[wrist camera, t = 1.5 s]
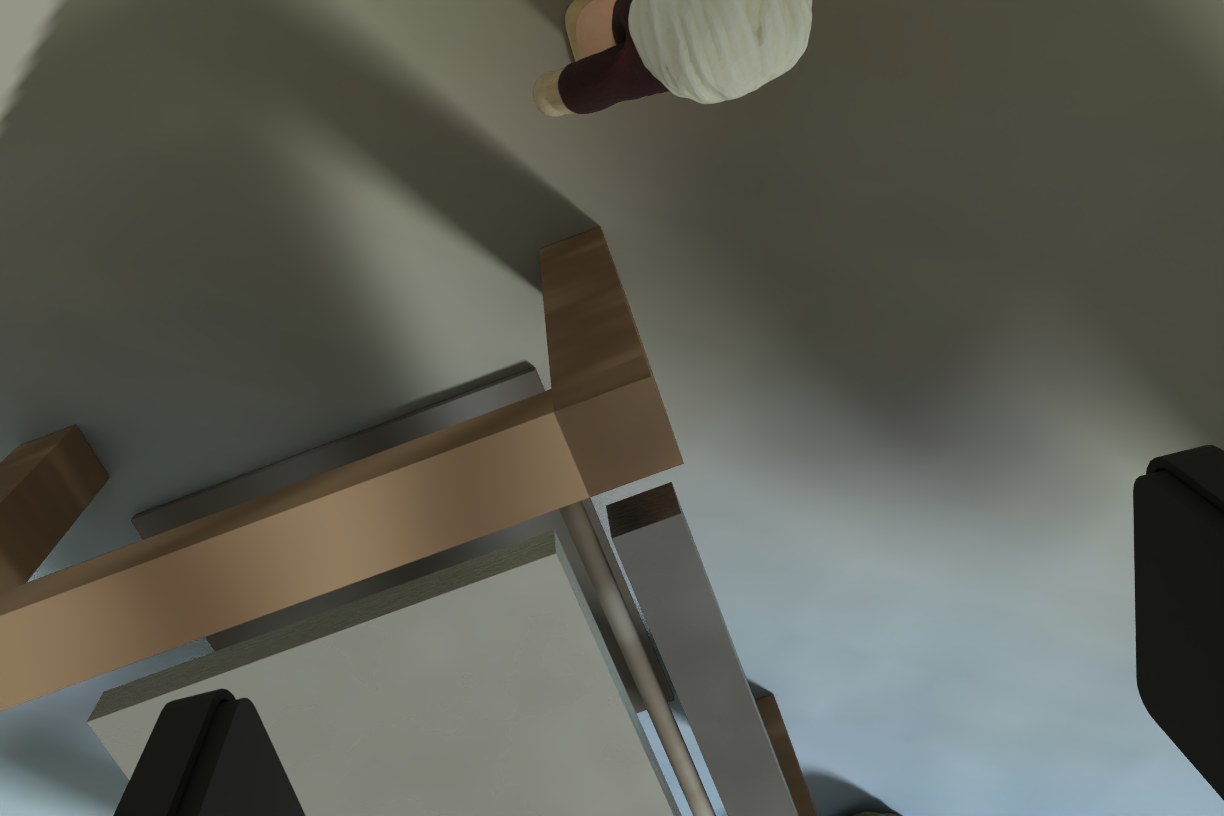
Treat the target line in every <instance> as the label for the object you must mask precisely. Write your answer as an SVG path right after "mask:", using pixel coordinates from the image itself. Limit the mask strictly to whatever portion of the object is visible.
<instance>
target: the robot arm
mask: <svg viewBox="0 0 1224 816" xmlns="http://www.w3.org/2000/svg"><path fill="white" fill-rule="evenodd" d="M1133 506H1134V562H1135V618H1136V673H1137V686H1138V690H1139V694H1140V696H1141V699H1142V701H1143V704H1144V706H1145V707H1146V709H1147V711H1148V713H1149V714H1150V715H1151V717H1152V718H1153V719H1154V720H1155V722H1156V723H1157V724H1158V725H1159V726H1160V727H1161V728H1162V730H1163V731H1164V732H1165V733H1166V734H1167V735H1168V737H1169V738H1170V739H1171V740H1172V741H1173V742H1174V743H1175V745H1176V746H1177V747H1178V748H1179V749H1180V750H1181V752H1182V753H1183V754H1184V755H1185V756H1186V757H1187V759H1188V760H1189V761H1190V762H1191V763H1192V764H1193V765H1194V767H1195V768H1196V769H1197V770H1198V771H1199V772H1200V774H1201V775H1202V776H1203V777H1204V778H1205V779H1206V780H1207V782H1208V783H1209V784H1210V785H1211V786H1212V787H1213V789H1214V790H1215V791H1216V792H1217V793H1218V794H1219V796H1220V797H1221V798H1222V799H1223V800H1224V451H1223V450H1222V449H1220V448H1218V447H1215V446H1213V445H1205V446H1201V447H1197V448H1193V449H1189V450H1185V451H1181V452H1177V453H1173V454H1169V455H1164V456H1160V457H1156V458H1154V459H1153V460H1152V461H1150V463H1149V465H1148V467H1147V471H1146V475H1143V476H1140V477H1138V478H1137V479H1136V481H1135V483H1134V489H1133ZM114 816H306V815H305V813H304V811H303V809H302V806H301V804H300V802H299V800H298V798H297V796H296V794H295V791H294V789H293V787H292V785H291V783H290V781H289V778H288V776H287V774H286V772H285V770H284V768H283V766H282V763H281V761H280V759H279V757H278V755H277V753H276V750H275V748H274V746H273V744H272V742H271V740H270V738H269V735H268V733H267V731H266V729H265V727H264V725H263V722H262V720H261V718H260V716H259V714H258V712H257V710H256V708H255V706H254V704H253V703H252V701H251V700H249V699H248V698H240V699H236V698H235V697H234V695H233V694H232V693H231V692H230V691H229V690H227V689H223V688H222V689H217V690H213V691H209V692H205V693H201V694H197V695H193V696H189V697H185V698H181V699H177V700H173V701H170V702H169V703H167V704H166V705H165V706H164V708H163V709H162V711H161V713H160V715H159V717H158V719H157V721H156V724H155V726H154V728H153V730H152V732H151V735H150V737H149V739H148V741H147V743H146V746H145V748H144V750H143V752H142V754H141V757H140V759H139V761H138V763H137V765H136V768H135V770H134V772H133V774H132V776H131V778H130V781H129V783H128V785H127V787H126V789H125V792H124V794H123V796H122V798H121V800H120V803H119V805H118V807H117V809H116V811H115V814H114Z"/></svg>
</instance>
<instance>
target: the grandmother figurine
mask: <svg viewBox="0 0 1224 816" xmlns="http://www.w3.org/2000/svg"><path fill="white" fill-rule="evenodd" d="M811 9H812V0H574V1H573V2H572V3H571V4H570V6H569V7H568V9H567V11H566V15H565V26H566V31H567V35H568V38H569V42H570V45H571V49H572V52H573V55H574V59H575V62H573V63H571V64H569V65H567V66H566V67H565V68H562V69H560V70H557V71H552V72H548V73H545V74H543V75H542V76H541V77H540V78H539V79H538V80H537V81H536V83H535V86H534V89H533V96H534V101H535V103H536V105H537V107H538V109H539V110H540V111H541V112H543V113H545V114H546V115H549V116H554V117H557V116H562V115H564V114H573V113H578V114H588V113H593V112H596V111H600V110H603V109H605V108H607V107H609V106H612V105H614V104H615V103H618V102H621V101H624V100H632V99H638V98H641V97H644V96H650V95H653V94H656V93H663V92H666V91H671V92H672V93H673V94H674V95H676V96H678V97H684V98H689V99H692V100H694V101H696V102H699V103H701V104H714V103H719V102H722V101H725V100H732V99H736V98H739V97H742V96H744V95H746V94H748V93H750V92H753V91H755V90H757V89H758V88H759V87H761V86H762V85H764V84H766V83H768V82H769V81H771V80H773V79H775V78H777V77H779V76H781V75H782V74H784V73H786V72H787V71H789V70H790V69H791V68H792V67H793V66H794V65H795V64H796V63H797V61H798V60H799V59H800V57H801V56H802V55H803V53H804V52H805V50H806V47H807V44H808V39H809V35H810V31H811V23H812V11H811Z"/></svg>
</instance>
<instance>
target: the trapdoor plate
mask: <svg viewBox="0 0 1224 816" xmlns="http://www.w3.org/2000/svg"><path fill="white" fill-rule="evenodd" d="M606 509H607V514H608V520H609V526H610V532H611V537H612V540H613V543H614V545H615V548H616V550H617V552H618V555H619V557H620V559H621V562H622V564H623V567H624V569H625V571H626V574H627V576H628V579H629V581H630V583H631V586H632V588H633V591H634V593H635V595H636V598H637V600H638V602H639V605H640V607H641V610H642V612H643V614H644V617H645V619H646V622H647V624H648V626H649V629H650V631H651V633H652V636H653V638H654V641H655V643H656V645H657V648H658V650H659V653H660V655H661V657H662V660H663V662H664V664H665V667H666V669H667V672H668V674H669V676H670V679H671V681H672V684H673V686H674V688H675V691H676V693H677V695H678V698H679V700H680V703H681V705H682V707H683V710H684V712H685V715H686V717H687V719H688V722H689V724H690V726H691V729H692V731H693V734H694V736H695V738H696V741H697V743H698V746H699V748H700V750H701V753H702V755H703V757H704V760H705V762H706V765H707V767H708V769H709V772H710V774H711V777H712V779H713V781H714V784H715V786H716V788H717V791H718V793H719V796H720V798H721V800H722V803H723V805H724V808H725V810H726V812H727V815H728V816H798V813H797V810H796V808H795V805H794V802H793V800H792V797H791V795H790V792H789V789H788V787H787V784H786V781H785V779H784V776H783V773H782V771H781V768H780V766H779V763H778V760H777V758H776V755H775V752H774V750H773V747H772V745H771V742H770V739H769V737H768V734H767V731H766V729H765V726H764V724H763V721H762V718H761V716H760V713H759V710H758V708H757V705H756V703H755V700H754V697H753V695H752V692H751V689H750V687H749V684H748V682H747V679H746V676H745V674H744V671H743V668H742V666H741V663H740V661H739V658H738V655H737V653H736V650H735V647H734V645H733V642H732V640H731V637H730V634H729V632H728V629H727V626H726V624H725V621H724V619H723V616H722V613H721V611H720V608H719V605H718V603H717V600H716V597H715V595H714V592H713V590H712V587H711V584H710V582H709V579H708V576H707V574H706V571H705V569H704V566H703V563H702V561H701V558H700V555H699V553H698V550H697V548H696V545H695V542H694V540H693V537H692V534H691V532H690V529H689V527H688V524H687V521H686V519H685V516H684V513H683V511H682V508H681V506H680V503H679V500H678V498H677V495H676V492H675V490H674V487H673V485H672V482H670V483H668V484H665V485H662V486H659V487H656V488H654V489H651V490H648V491H645V492H643V493H640V494H637V495H634V496H632V497H629V498H626V499H623V500H621V501H618V502H615V503H612V504H609V505H607V506H606ZM222 688H223V689H227V690H229V691H230V692H231V693H232V694H233V695H234V697H235V698H236V699H240V698H248V699H249V700H251V701H252V703H253V704H254V706H255V708H256V710H257V712H258V714H259V716H260V718H261V720H262V722H263V725H264V727H265V729H266V731H267V733H268V735H269V738H270V740H271V742H272V744H273V746H274V748H275V750H276V753H277V755H278V757H279V759H280V761H281V763H282V766H283V768H284V770H285V772H286V774H287V776H288V778H289V781H290V783H291V785H292V787H293V789H294V791H295V794H296V796H297V798H298V800H299V802H300V804H301V806H302V809H303V811H304V813H305V815H306V816H682V815H681V813H680V811H679V809H678V806H677V804H676V802H675V800H674V797H673V795H672V793H671V791H670V788H669V786H668V784H667V782H666V779H665V777H664V775H663V773H662V770H661V768H660V766H659V764H658V761H657V759H656V757H655V755H654V752H653V750H652V748H651V746H650V743H649V741H648V739H647V737H646V734H645V732H644V730H643V728H642V725H641V723H640V721H639V719H638V716H637V714H636V712H635V710H634V707H633V705H632V703H631V701H630V698H629V696H628V694H627V692H626V689H625V687H624V685H623V683H622V680H621V678H620V676H619V674H618V671H617V669H616V667H615V665H614V662H613V660H612V658H611V656H610V653H609V651H608V649H607V647H606V644H605V642H604V640H603V638H602V635H601V633H600V631H599V629H598V626H597V624H596V622H595V620H594V617H593V615H592V613H591V611H590V608H589V606H588V604H587V602H586V599H585V597H584V595H583V593H582V590H581V588H580V586H579V584H578V581H577V579H576V577H575V575H574V572H573V570H572V568H571V566H570V563H569V561H568V559H567V557H566V554H565V552H564V550H563V548H562V545H561V543H560V541H559V539H558V536H557V534H556V532H555V530H554V529H553V530H551V531H548V532H545V533H542V534H540V535H537V536H534V537H531V538H528V539H526V540H523V541H520V542H517V543H515V544H512V545H509V546H506V547H504V548H501V549H498V550H495V551H493V552H490V553H487V554H484V555H481V556H479V557H476V558H473V559H470V560H468V561H465V562H462V563H459V564H457V565H454V566H451V567H448V568H445V569H443V570H440V571H437V572H434V573H432V574H429V575H426V576H423V577H421V578H418V579H415V580H412V581H409V582H407V583H404V584H401V585H398V586H396V587H393V588H390V589H387V590H385V591H382V592H379V593H376V594H374V595H371V596H368V597H365V598H362V599H360V600H357V601H354V602H351V603H349V604H346V605H343V606H340V607H338V608H335V609H332V610H329V611H326V612H324V613H321V614H318V615H315V616H313V617H310V618H307V619H304V620H302V621H299V622H296V623H293V624H291V625H288V626H285V627H282V628H279V629H277V630H274V631H271V632H268V633H266V634H263V635H260V636H257V637H255V638H252V639H249V640H246V641H243V642H241V643H238V644H235V645H232V646H230V647H227V648H224V649H221V650H219V651H216V652H213V653H210V654H208V655H205V656H202V657H199V658H196V659H194V660H191V661H188V662H185V663H183V664H180V665H177V666H174V667H172V668H169V669H166V670H163V671H160V672H158V673H155V674H152V675H149V676H147V677H144V678H141V679H138V680H136V681H133V682H130V683H127V684H124V685H122V686H119V687H116V688H113V689H111V690H108V691H105V692H104V693H103V694H102V696H101V698H100V700H99V701H98V703H97V705H96V707H95V709H94V710H93V712H92V714H91V716H90V717H89V719H88V721H87V723H88V725H89V726H90V728H91V729H92V730H93V732H94V733H95V734H96V736H97V737H98V738H99V740H100V741H101V743H102V744H103V745H104V747H105V748H106V749H107V751H108V752H109V753H110V755H111V756H112V758H113V759H114V760H115V762H116V763H117V764H118V766H119V767H120V769H121V770H122V771H123V773H124V774H125V775H126V777H127V778H128V779H129V781H130V778H131V776H132V774H133V772H134V770H135V768H136V765H137V763H138V761H139V759H140V757H141V754H142V752H143V750H144V748H145V746H146V743H147V741H148V739H149V737H150V735H151V732H152V730H153V728H154V726H155V724H156V721H157V719H158V717H159V715H160V713H161V711H162V709H163V708H164V706H165V705H166V704H167V703H169V702H170V701H173V700H177V699H181V698H185V697H189V696H193V695H197V694H201V693H205V692H209V691H213V690H217V689H222Z"/></svg>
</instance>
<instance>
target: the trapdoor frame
mask: <svg viewBox="0 0 1224 816" xmlns="http://www.w3.org/2000/svg"><path fill="white" fill-rule="evenodd" d="M539 258H540V269H541V280H542V291H543V301H544V312H545V323H546V334H547V345H548V355H549V366H550V377H551V388H552V389H550V390H547V391H545V390H544V387H543V385H542V383H541V380H540V378H539V375H538V373H537V371H536V368H535V367H533V368H531V369H528V370H525V371H523V372H520V373H517V374H515V375H512V376H509V377H506V378H504V379H501V380H498V381H496V382H493V383H490V384H488V385H485V386H482V387H480V388H477V389H474V390H471V391H469V392H466V393H463V394H461V395H458V396H455V397H453V398H450V399H447V400H445V401H442V402H439V403H436V404H434V405H431V406H428V407H426V408H423V409H420V410H418V411H415V412H412V413H409V414H407V415H404V416H401V417H399V418H396V419H393V420H391V421H388V422H385V423H383V424H380V425H377V426H374V427H372V428H369V429H366V430H364V431H361V432H358V433H356V434H353V435H350V436H348V437H345V438H342V439H339V440H337V441H334V442H331V443H329V444H326V445H323V446H321V447H318V448H315V449H313V450H310V451H307V452H304V453H302V454H299V455H296V456H294V457H291V458H288V459H286V460H283V461H280V462H277V463H275V464H272V465H269V466H267V467H264V468H261V469H259V470H256V471H253V472H251V473H248V474H245V475H242V476H240V477H237V478H234V479H232V480H229V481H226V482H224V483H221V484H218V485H216V486H213V487H210V488H207V489H205V490H202V491H199V492H197V493H194V494H191V495H189V496H186V497H183V498H181V499H178V500H175V501H172V502H170V503H167V504H164V505H162V506H159V507H156V508H154V509H151V510H148V511H145V512H143V513H140V514H137V515H135V516H133V518H132V519H131V521H132V523H133V524H134V526H135V527H136V529H137V531H138V532H139V534H140V535H141V537H142V538H143V540H141V541H139V542H136V543H133V544H131V545H128V546H125V547H123V548H120V549H117V550H114V551H112V552H109V553H106V554H104V555H101V556H98V557H95V558H93V559H90V560H87V561H85V562H82V563H79V564H77V565H74V566H71V567H68V568H66V569H63V570H60V571H58V572H55V573H52V574H49V575H47V576H44V577H41V578H39V579H36V580H33V581H31V582H28V583H26V582H27V581H28V580H29V578H30V577H31V576H32V575H33V573H34V572H35V571H36V570H37V568H38V567H39V566H40V565H41V563H42V562H43V561H44V560H45V558H46V557H47V556H48V555H49V553H50V552H51V551H52V550H53V548H54V547H55V546H56V545H57V543H58V542H59V541H60V539H61V538H62V537H63V536H64V534H65V533H66V532H67V531H68V529H69V528H70V527H71V526H72V524H73V523H74V522H75V521H76V519H77V518H78V517H79V516H80V514H81V513H82V512H83V511H84V509H85V508H86V507H87V505H88V504H89V503H90V502H91V500H92V499H93V498H94V497H95V495H96V494H97V493H98V492H99V490H100V489H101V488H102V487H103V485H104V484H105V483H106V482H107V480H108V479H109V478H110V477H109V476H108V474H107V473H106V471H105V470H104V468H103V466H102V465H101V463H100V462H99V460H98V459H97V457H96V455H95V454H94V452H93V451H92V449H91V448H90V446H89V445H88V443H87V441H86V440H85V438H84V437H83V435H82V434H81V432H80V430H79V429H78V427H77V426H76V425H73V426H71V427H68V428H66V429H63V430H60V431H58V432H55V433H52V434H50V435H47V436H44V437H42V438H39V439H36V440H34V441H31V442H28V443H26V444H23V445H21V446H18V447H17V448H16V449H15V450H14V451H13V452H12V453H11V454H10V455H9V456H7V457H6V458H5V459H4V460H3V461H2V462H1V463H0V711H2V710H5V709H7V708H10V707H13V706H16V705H19V704H21V703H24V702H27V701H30V700H32V699H35V698H38V697H41V696H43V695H46V694H49V693H52V692H54V691H57V690H60V689H63V688H65V687H68V686H71V685H74V684H76V683H79V682H82V681H85V680H87V679H90V678H93V677H96V676H99V675H101V674H104V673H107V672H110V671H112V670H115V669H118V668H121V667H123V666H126V665H129V664H132V663H134V662H137V661H140V660H143V659H145V658H148V657H151V656H154V655H156V654H159V653H162V652H165V651H167V650H170V649H173V648H176V647H179V646H181V645H184V644H187V643H190V642H192V641H195V640H198V639H201V638H203V637H206V638H207V640H208V641H209V643H210V644H211V646H212V648H213V649H214V651H215V652H216V651H219V650H221V649H224V648H227V647H230V646H232V645H235V644H238V643H241V642H243V641H246V640H249V639H252V638H255V637H257V636H260V635H263V634H266V633H268V632H271V631H274V630H277V629H279V628H282V627H285V626H288V625H291V624H293V623H296V622H299V621H302V620H304V619H307V618H310V617H313V616H315V615H318V614H321V613H324V612H326V611H329V610H332V609H335V608H338V607H340V606H343V605H346V604H349V603H351V602H354V601H357V600H360V599H362V598H365V597H368V596H371V595H374V594H376V593H379V592H382V591H385V590H387V589H390V588H393V587H396V586H398V585H401V584H404V583H407V582H409V581H412V580H415V579H418V578H421V577H423V576H426V575H429V574H432V573H434V572H437V571H440V570H443V569H445V568H448V567H451V566H454V565H457V564H459V563H462V562H465V561H468V560H470V559H473V558H476V557H479V556H481V555H484V554H487V553H490V552H493V551H495V550H498V549H501V548H504V547H506V546H509V545H512V544H515V543H517V542H520V541H523V540H526V539H528V538H531V537H534V536H537V535H540V534H542V533H545V532H548V531H551V530H553V529H554V530H555V532H556V534H557V536H558V539H559V541H560V543H561V545H562V548H563V550H564V552H565V554H566V557H567V559H568V561H569V563H570V566H571V568H572V570H573V572H574V575H575V577H576V579H577V581H578V584H579V586H580V588H581V590H582V593H583V595H584V597H585V599H586V602H587V604H588V606H589V608H590V611H591V613H592V615H593V617H594V620H595V622H596V624H597V626H598V629H599V631H600V633H601V635H602V638H603V640H604V642H605V644H606V647H607V649H608V651H609V653H610V656H611V658H612V660H613V662H614V665H615V667H616V669H617V671H618V674H619V676H620V678H621V680H622V683H623V685H624V687H625V689H626V692H627V694H628V696H629V698H630V701H631V703H632V705H633V707H634V710H635V712H636V713H639V712H642V711H644V710H647V711H648V713H649V715H650V718H651V720H652V722H653V725H654V727H655V729H656V731H657V734H658V736H659V738H660V741H661V743H662V745H663V747H664V750H665V752H666V754H667V757H668V759H669V761H670V763H671V766H672V768H673V770H674V773H675V775H676V777H677V779H678V782H679V784H680V786H681V789H682V791H683V793H684V795H685V798H686V800H687V802H688V805H689V807H690V809H691V811H692V814H693V816H716V815H715V812H714V810H713V808H712V805H711V803H710V800H709V798H708V796H707V793H706V791H705V789H704V786H703V784H702V782H701V779H700V777H699V775H698V772H697V770H696V768H695V765H694V763H693V761H692V758H691V756H690V753H689V751H688V749H687V746H686V744H685V742H684V739H683V737H682V735H681V732H680V730H679V728H678V725H677V723H676V721H675V718H674V716H673V714H672V711H671V709H670V707H669V704H668V702H670V701H673V700H674V697H673V693H672V691H671V689H670V686H669V684H668V682H667V679H666V677H665V674H664V672H663V670H662V667H661V665H660V663H659V660H658V658H657V656H656V653H655V651H654V648H653V646H652V644H651V641H650V639H649V637H648V634H647V632H646V629H645V627H644V625H643V622H642V620H641V618H640V615H639V613H638V610H637V608H636V606H635V603H634V601H633V599H632V596H631V594H630V591H629V589H628V587H627V584H626V582H625V580H624V577H623V575H622V572H621V570H620V568H619V565H618V563H617V561H616V558H615V556H614V553H613V551H612V549H611V546H610V544H609V542H608V539H607V537H606V534H605V532H604V530H603V527H602V525H601V523H600V520H599V518H598V515H597V513H596V511H595V508H594V506H593V504H592V501H591V499H590V497H592V496H595V495H598V494H601V493H603V492H606V491H609V490H612V489H614V488H617V487H620V486H623V485H625V484H628V483H631V482H634V481H636V480H639V479H642V478H645V477H647V476H650V475H653V474H656V473H659V472H661V471H664V470H667V469H670V468H672V467H675V466H678V465H681V464H683V463H684V462H683V459H682V457H681V454H680V451H679V448H678V445H677V442H676V439H675V436H674V433H673V431H672V428H671V425H670V422H669V419H668V416H667V413H666V410H665V408H664V405H663V402H662V399H661V396H660V393H659V390H658V387H657V384H656V382H655V379H654V376H653V373H652V370H651V367H650V364H649V361H648V358H647V356H646V353H645V350H644V347H643V344H642V341H641V338H640V335H639V333H638V330H637V327H636V324H635V321H634V318H633V315H632V312H631V309H630V307H629V304H628V301H627V298H626V295H625V292H624V289H623V286H622V284H621V281H620V278H619V276H618V273H617V270H616V267H615V265H614V262H613V259H612V257H611V254H610V251H609V249H608V246H607V243H606V240H605V238H604V235H603V232H602V230H601V227H597V228H595V229H592V230H589V231H587V232H584V233H582V234H579V235H576V236H574V237H571V238H568V239H566V240H563V241H560V242H558V243H555V244H552V245H550V246H547V247H544V248H542V249H539ZM755 703H756V705H757V708H758V710H759V713H760V716H761V718H762V721H763V724H764V726H765V729H766V731H767V734H768V737H769V739H770V742H771V745H772V747H773V750H774V752H775V755H776V758H777V760H778V763H779V766H780V768H781V771H782V773H783V776H784V779H785V781H786V784H787V787H788V789H789V792H790V795H791V797H792V800H793V802H794V805H795V808H796V810H797V813H798V816H817V813H816V810H815V807H814V805H813V802H812V799H811V796H810V793H809V791H808V788H807V785H806V782H805V780H804V777H803V774H802V771H801V768H800V766H799V763H798V760H797V757H796V755H795V752H794V749H793V746H792V743H791V741H790V738H789V735H788V732H787V730H786V727H785V724H784V722H783V719H782V716H781V713H780V711H779V708H778V705H777V703H776V700H775V697H774V695H773V694H772V695H769V696H766V697H763V698H760V699H757V700H755Z"/></svg>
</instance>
